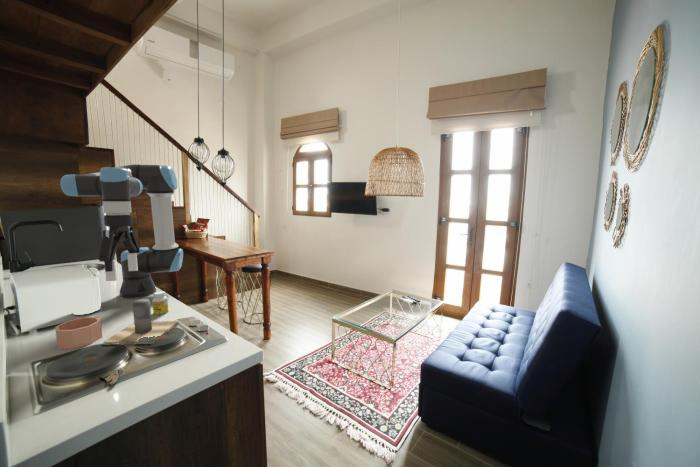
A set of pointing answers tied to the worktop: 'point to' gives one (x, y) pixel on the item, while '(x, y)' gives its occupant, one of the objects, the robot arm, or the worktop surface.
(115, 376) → the jawbone
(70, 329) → the terracotta bowl
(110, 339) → the oak lid
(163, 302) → the supplement bottle
